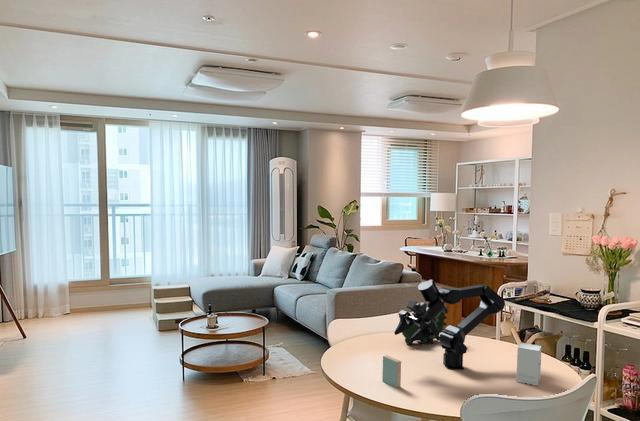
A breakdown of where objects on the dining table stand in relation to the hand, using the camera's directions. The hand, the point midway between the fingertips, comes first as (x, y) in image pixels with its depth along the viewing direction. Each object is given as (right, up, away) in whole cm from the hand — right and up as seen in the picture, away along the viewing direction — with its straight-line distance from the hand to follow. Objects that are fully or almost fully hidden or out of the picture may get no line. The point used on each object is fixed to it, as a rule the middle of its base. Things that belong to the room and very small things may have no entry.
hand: (402, 337), depth 168 cm
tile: (-5, -14, -8) cm, 17 cm away
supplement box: (+46, -16, -2) cm, 48 cm away
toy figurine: (+16, -14, +41) cm, 46 cm away
